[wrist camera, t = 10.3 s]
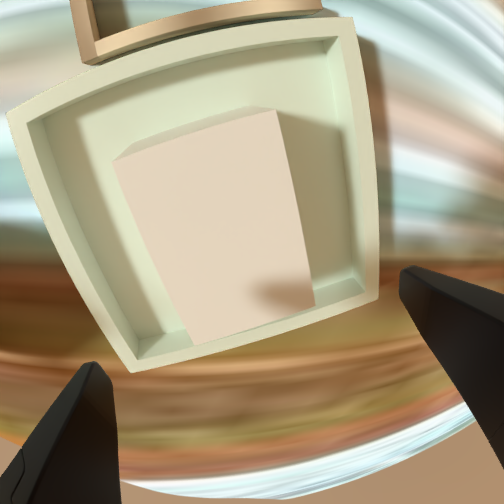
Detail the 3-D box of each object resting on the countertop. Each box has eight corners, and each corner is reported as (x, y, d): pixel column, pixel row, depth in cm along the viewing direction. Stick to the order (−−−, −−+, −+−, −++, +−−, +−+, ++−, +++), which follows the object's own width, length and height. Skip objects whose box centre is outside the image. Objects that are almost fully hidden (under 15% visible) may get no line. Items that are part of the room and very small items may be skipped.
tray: (330, 24, 14) (352, 17, 12) (361, 279, 22) (378, 298, 20) (27, 109, 12) (5, 113, 10) (133, 347, 21) (130, 373, 19)
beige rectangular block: (248, 105, 15) (275, 109, 10) (285, 256, 19) (315, 306, 15) (132, 142, 14) (111, 162, 10) (189, 287, 19) (194, 345, 14)
